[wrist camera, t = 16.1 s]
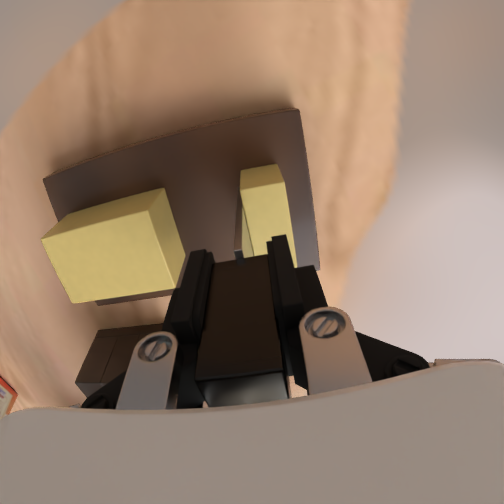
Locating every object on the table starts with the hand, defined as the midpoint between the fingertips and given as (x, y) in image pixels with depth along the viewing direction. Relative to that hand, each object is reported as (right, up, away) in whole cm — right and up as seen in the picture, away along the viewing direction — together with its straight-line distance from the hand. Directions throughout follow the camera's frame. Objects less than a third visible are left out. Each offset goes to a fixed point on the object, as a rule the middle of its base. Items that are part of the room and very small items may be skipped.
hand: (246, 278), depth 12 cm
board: (-4, +3, +8) cm, 10 cm away
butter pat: (+1, +4, +6) cm, 7 cm away
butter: (-8, +2, +7) cm, 10 cm away
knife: (0, +3, +6) cm, 7 cm away
